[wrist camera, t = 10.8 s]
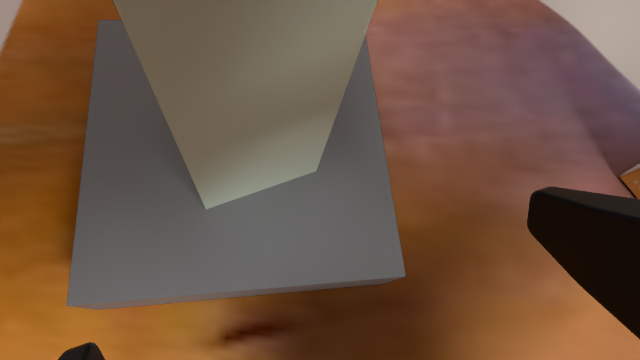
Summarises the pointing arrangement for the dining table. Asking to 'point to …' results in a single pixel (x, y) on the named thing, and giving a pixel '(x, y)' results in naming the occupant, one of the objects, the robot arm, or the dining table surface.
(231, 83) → the sage block
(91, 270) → the plinth
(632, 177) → the small box
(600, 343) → the dining table surface
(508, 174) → the dining table surface
